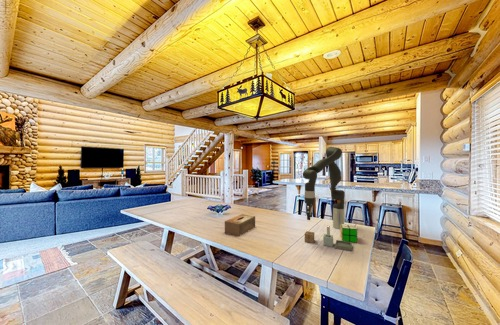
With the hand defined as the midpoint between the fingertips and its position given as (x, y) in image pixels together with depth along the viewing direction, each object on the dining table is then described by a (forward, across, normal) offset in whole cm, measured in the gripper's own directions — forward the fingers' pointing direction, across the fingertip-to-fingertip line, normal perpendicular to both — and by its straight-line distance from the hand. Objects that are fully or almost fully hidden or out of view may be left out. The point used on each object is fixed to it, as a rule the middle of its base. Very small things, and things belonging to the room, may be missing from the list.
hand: (309, 218), depth 149 cm
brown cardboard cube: (+17, 0, 0) cm, 17 cm away
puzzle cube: (+17, +16, -26) cm, 35 cm away
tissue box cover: (+18, -1, +58) cm, 61 cm away
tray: (+17, 0, -23) cm, 28 cm away
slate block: (+17, 0, -13) cm, 21 cm away
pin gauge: (+16, 0, -13) cm, 21 cm away
